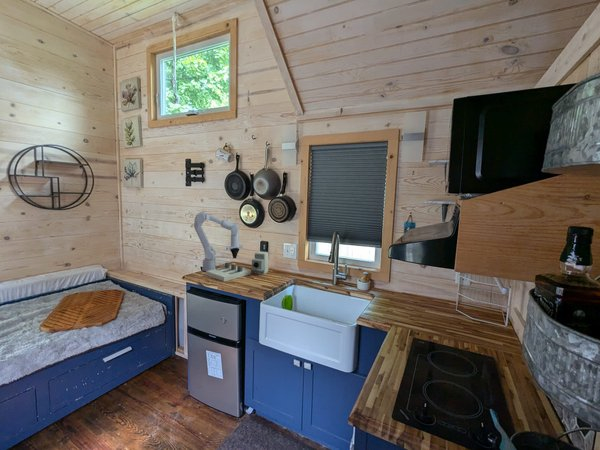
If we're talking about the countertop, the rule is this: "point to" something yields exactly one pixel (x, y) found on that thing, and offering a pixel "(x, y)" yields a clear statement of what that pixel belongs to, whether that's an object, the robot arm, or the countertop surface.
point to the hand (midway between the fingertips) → (234, 258)
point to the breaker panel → (228, 272)
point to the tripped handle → (233, 266)
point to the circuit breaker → (260, 262)
